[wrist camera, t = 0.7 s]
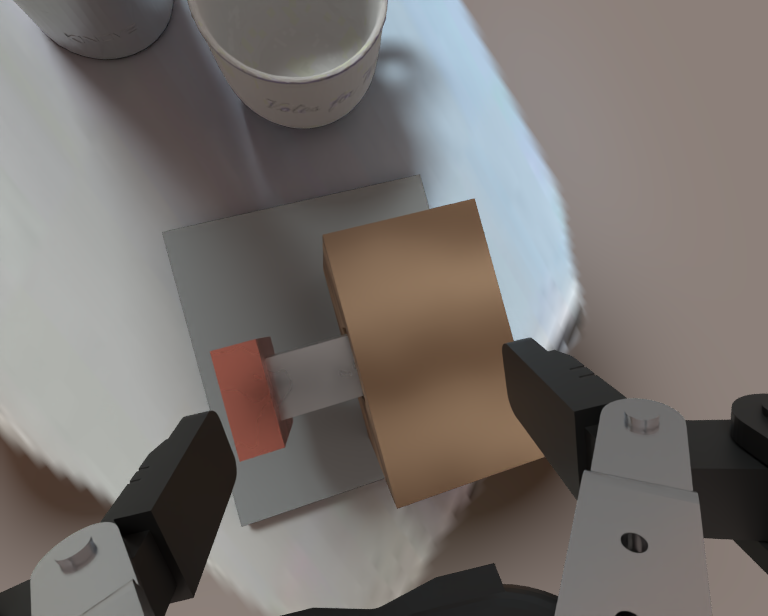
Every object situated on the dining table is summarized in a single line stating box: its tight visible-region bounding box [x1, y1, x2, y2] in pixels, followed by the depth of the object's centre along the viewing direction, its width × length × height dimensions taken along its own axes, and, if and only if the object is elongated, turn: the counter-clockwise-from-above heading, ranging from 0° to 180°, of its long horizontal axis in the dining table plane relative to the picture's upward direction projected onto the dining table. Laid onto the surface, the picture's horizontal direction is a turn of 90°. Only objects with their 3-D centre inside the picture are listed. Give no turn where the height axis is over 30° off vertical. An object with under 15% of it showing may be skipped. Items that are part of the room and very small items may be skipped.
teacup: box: [187, 0, 388, 128], centre depth 26 cm, size 14×11×8 cm
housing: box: [322, 199, 545, 509], centre depth 24 cm, size 12×7×12 cm, turn 15°
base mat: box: [162, 175, 429, 527], centre depth 28 cm, size 20×18×1 cm
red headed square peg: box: [210, 334, 364, 462], centre depth 21 cm, size 5×9×5 cm, turn 105°
